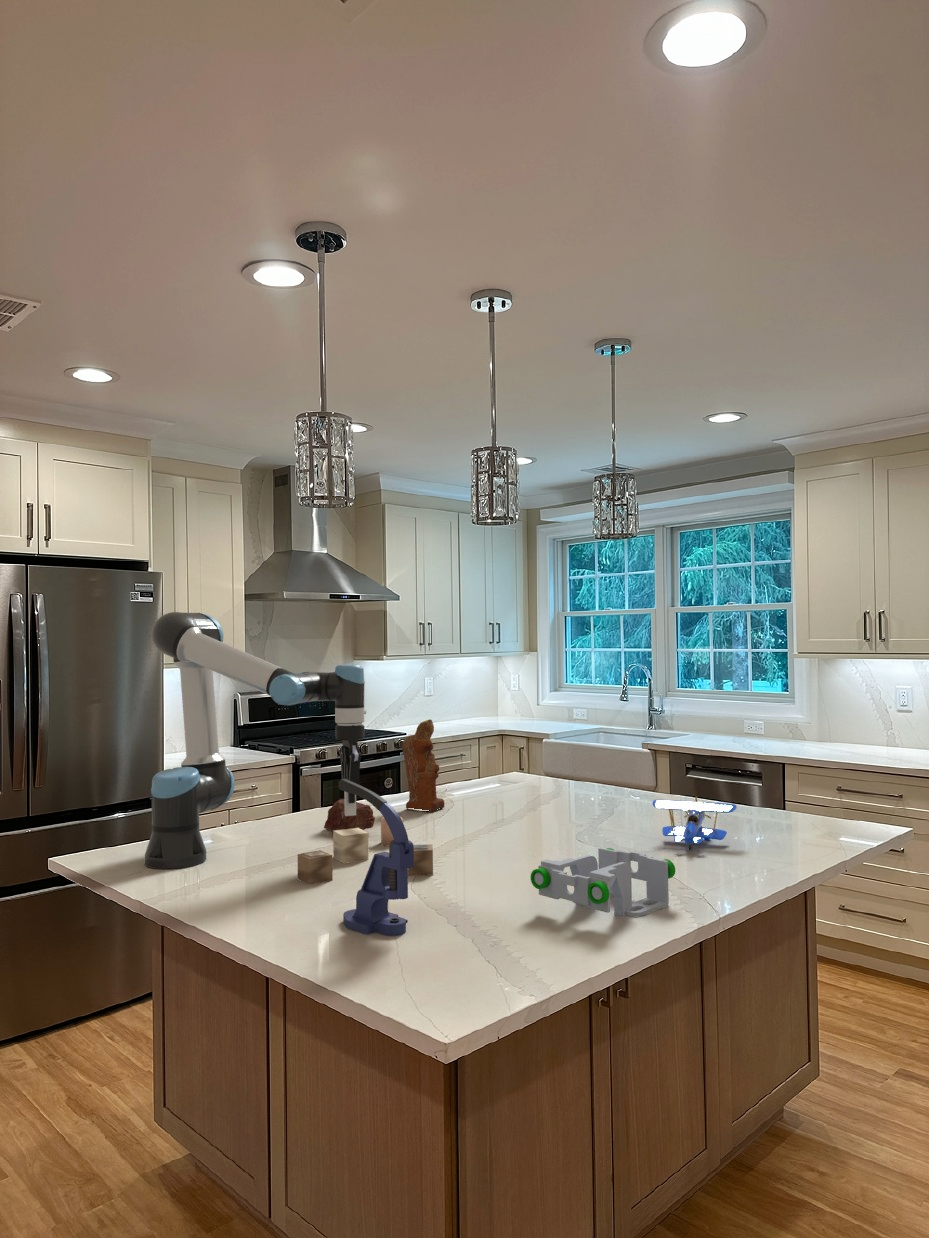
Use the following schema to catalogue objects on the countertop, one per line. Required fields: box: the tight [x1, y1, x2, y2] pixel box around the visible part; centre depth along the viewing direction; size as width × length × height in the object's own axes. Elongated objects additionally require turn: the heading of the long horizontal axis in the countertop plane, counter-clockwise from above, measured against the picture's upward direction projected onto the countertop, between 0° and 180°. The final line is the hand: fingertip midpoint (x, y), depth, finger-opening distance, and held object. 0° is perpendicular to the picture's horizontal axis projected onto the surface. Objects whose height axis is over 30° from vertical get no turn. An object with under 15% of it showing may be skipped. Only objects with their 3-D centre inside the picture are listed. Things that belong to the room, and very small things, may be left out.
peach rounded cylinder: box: [380, 816, 404, 846], centre depth 241 cm, size 6×6×7 cm
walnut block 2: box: [408, 843, 434, 877], centre depth 210 cm, size 6×6×6 cm
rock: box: [323, 798, 376, 832], centre depth 256 cm, size 18×6×9 cm, turn 52°
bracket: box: [530, 847, 676, 917], centre depth 180 cm, size 19×25×10 cm
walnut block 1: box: [297, 850, 334, 886], centre depth 204 cm, size 6×6×6 cm
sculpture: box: [401, 719, 445, 812], centre depth 289 cm, size 13×9×30 cm
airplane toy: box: [652, 796, 738, 851], centre depth 236 cm, size 25×22×13 cm
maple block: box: [332, 828, 369, 864], centre depth 224 cm, size 7×7×7 cm
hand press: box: [338, 778, 414, 937], centre depth 171 cm, size 19×9×28 cm, turn 50°
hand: (350, 815), depth 224 cm, fingers closed
